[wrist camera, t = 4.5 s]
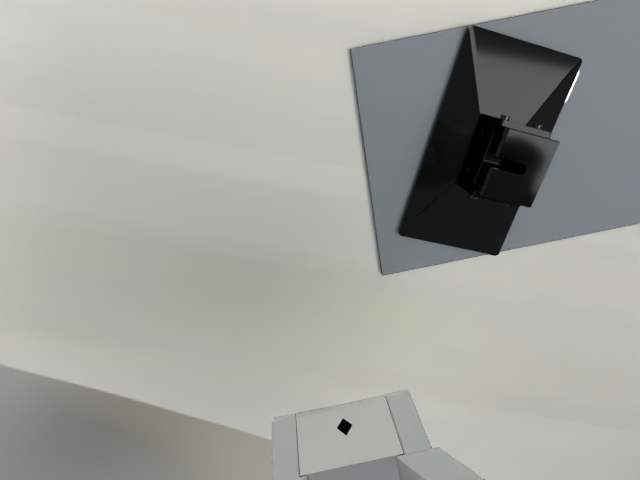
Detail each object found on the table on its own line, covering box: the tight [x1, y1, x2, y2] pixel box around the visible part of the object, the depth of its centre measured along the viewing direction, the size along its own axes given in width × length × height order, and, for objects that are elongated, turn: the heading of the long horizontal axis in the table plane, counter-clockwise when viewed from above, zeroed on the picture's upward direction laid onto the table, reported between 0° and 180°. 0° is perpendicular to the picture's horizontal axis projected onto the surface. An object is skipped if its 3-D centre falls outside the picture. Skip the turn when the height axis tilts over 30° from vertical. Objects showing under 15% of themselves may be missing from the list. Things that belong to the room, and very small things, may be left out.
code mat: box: [351, 0, 640, 275], centre depth 27 cm, size 14×29×1 cm, turn 100°
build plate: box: [398, 25, 582, 255], centre depth 25 cm, size 12×7×5 cm, turn 165°
